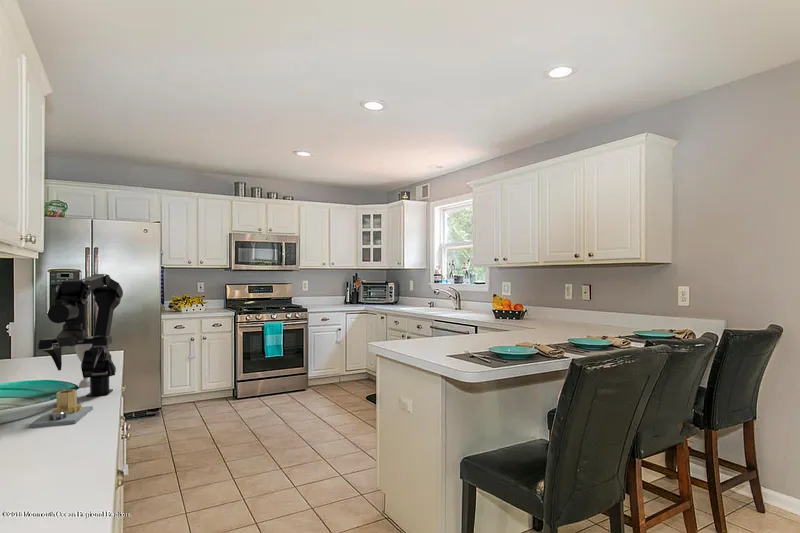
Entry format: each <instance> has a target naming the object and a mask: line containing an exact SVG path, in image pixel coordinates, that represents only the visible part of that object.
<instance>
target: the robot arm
mask: <svg viewBox="0 0 800 533" xmlns="http://www.w3.org/2000/svg"><path fill="white" fill-rule="evenodd" d="M123 290H124V289H123V287H122V286H121V285H120V282H117V281H116V280H114V279H113V278H111V276H110V275H109V274H107V273H95V274H92V275H91V276H88V277H87V276H86V277H84V278H81V279H65V280H62V282H61V283H60V284H59V285H58V288H57V291H56V294H55V297H54V299H53V303H54V304H53V305H51V307H49V309H48V311H47V317H48V319H49V321H51V322H52V323H55V324H61V323H62V329H61V331H60V332H59V333H58V334H57V336H56V337H45V338H42V339H39V340H38V342H37V350H42V352H44V353H46V354H47V353H48V355H49V356H50V357H51V359H52V360H53V363H54V365H55V367H56V368H57V371H59V372H60V371H62V366H63V364H62V361H63V360H62V348H63V347H75V345H79V344H92V347H91V348H90V349H89V350H86V351H85V352H84V357H83V361H82V362H81V363H80V364H81V365H80V369H81V373H82V374H81V375H82V377H83V378H88V379H90V387H89V393H88V394H86V397H98V396H108V395H109V394H110V393H112V392H113V391H114V389H113V388H110V377H112V376H113V377H114V376H116V372H117V368H116V365H115V364H114V362H113V360H112V355H111V353H110V350H109V349H108V347H109V345H111V344H112V343H113V337H112V335H111V329H112V323H113V316H114V311H115V309H116V308H117V307H119V305H120V304H121V300H122V298H123V295H124V291H123ZM91 294H92V296H94V302H95V304H96V305H97V314H96V321H95V327H94V331H93V338H88V336H89V334H88V331H87V329H88V328H87V325H88V324H89V322H88V321H87V304H89V301H88V300H87V299H88V297H89V296H90V295H91Z"/></svg>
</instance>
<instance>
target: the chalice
mask: <svg viewBox="0 0 800 533" xmlns="http://www.w3.org/2000/svg"><path fill="white" fill-rule="evenodd" d="M93 336H94V335H93ZM93 336H92V335H91V336H89V335H88V338H93ZM74 347H75V348H74V349H75V354H76V356H77V358H78V359H79V361H80V362H81V363H82V361H83V357H84V352H85V351H86V350H89V349H90V348H91V347H92V344H79V345H75V346H74ZM78 386H79V387H83V388H90V378H83V379H81V380H80V381H79V384H78ZM79 387H78V388H79Z"/></svg>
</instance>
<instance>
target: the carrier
mask: <svg viewBox="0 0 800 533" xmlns="http://www.w3.org/2000/svg"><path fill="white" fill-rule="evenodd" d="M93 408H94V406H93V405H90V406H89V405H88V406H81V411H77V412H76V413H70V414H67V411H59V412H53V413H52V410H53V409H54V408H52V409H50V410H49V411H47V412H46V413H44V414H42V415H41V416H40V417H39V418H38V417H37V419H35V420H34V421H32V422H31V423H29V428H31V429H33V428H44V427H52V426H64V425H71V423H75V424H77V423H78V422H79V421H80V420H82V419H83V418H84V417H85V416H87V415H88V414H89V413H90V412H91V411H92V410H94V409H93ZM88 412H89V413H88ZM87 413H88V414H87ZM83 416H84V417H83ZM82 417H83V418H82ZM81 418H82V419H81ZM77 421H78V422H77ZM76 422H77V423H76Z"/></svg>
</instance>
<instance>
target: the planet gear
mask: <svg viewBox="0 0 800 533" xmlns="http://www.w3.org/2000/svg"><path fill="white" fill-rule="evenodd" d="M77 396H78V391H77V389H74V388H73V389H63V390H60V391H59V390H58V392H56V407H55V408H52V409H53V410H52V409H51V410H52V413H53V412H59V411H67V414H70V413H76V412H77V411H81V407H82V404H78V397H77Z"/></svg>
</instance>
